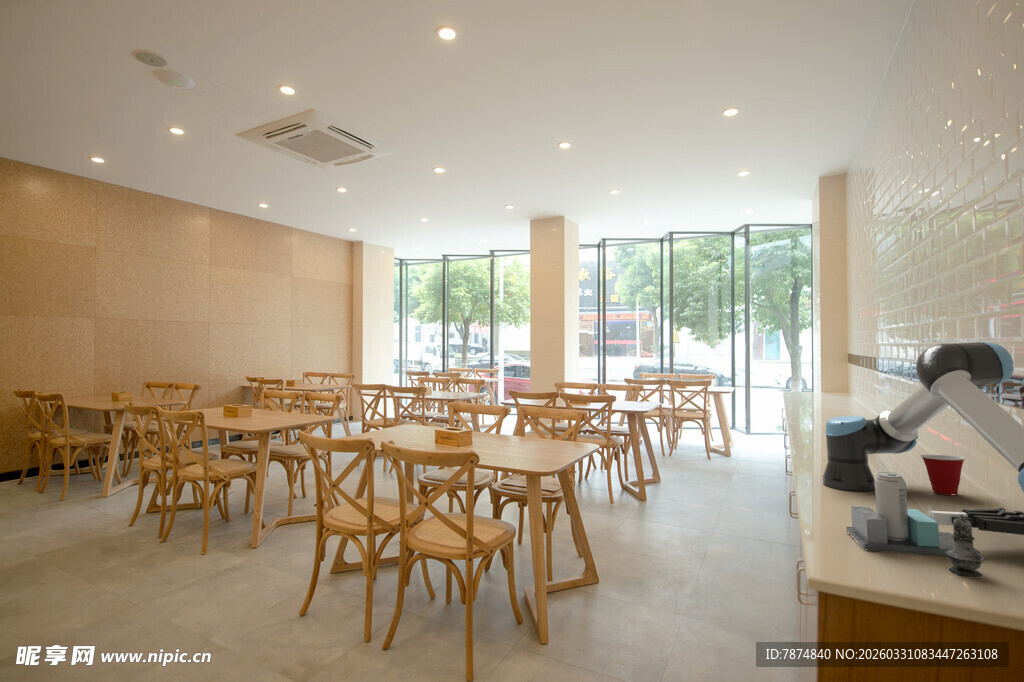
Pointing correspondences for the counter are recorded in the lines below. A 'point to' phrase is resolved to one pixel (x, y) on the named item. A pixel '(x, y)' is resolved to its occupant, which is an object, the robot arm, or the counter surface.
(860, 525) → the grey base stand
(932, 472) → the plastic cup
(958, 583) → the counter surface
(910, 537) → the sliding jaw
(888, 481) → the energy drink can
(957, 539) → the salt shaker
